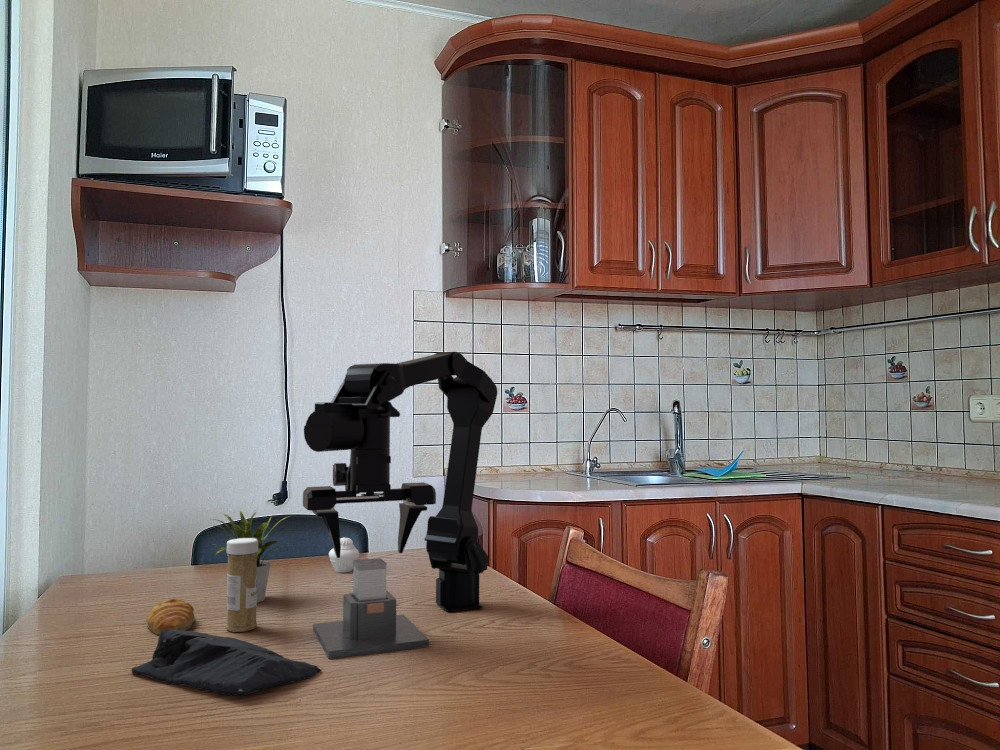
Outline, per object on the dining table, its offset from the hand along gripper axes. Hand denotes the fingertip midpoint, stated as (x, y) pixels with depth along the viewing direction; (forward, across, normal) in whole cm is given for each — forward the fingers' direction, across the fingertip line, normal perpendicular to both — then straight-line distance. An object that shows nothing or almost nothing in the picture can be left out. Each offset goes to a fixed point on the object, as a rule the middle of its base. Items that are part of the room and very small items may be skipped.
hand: (369, 555), depth 112 cm
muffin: (+12, -5, -47) cm, 49 cm away
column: (+11, 0, 0) cm, 11 cm away
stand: (+12, 0, 0) cm, 12 cm away
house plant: (+12, +16, -30) cm, 36 cm away
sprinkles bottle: (+12, +17, -12) cm, 24 cm away
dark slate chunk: (+13, +20, +7) cm, 25 cm away
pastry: (+12, +27, -17) cm, 34 cm away
